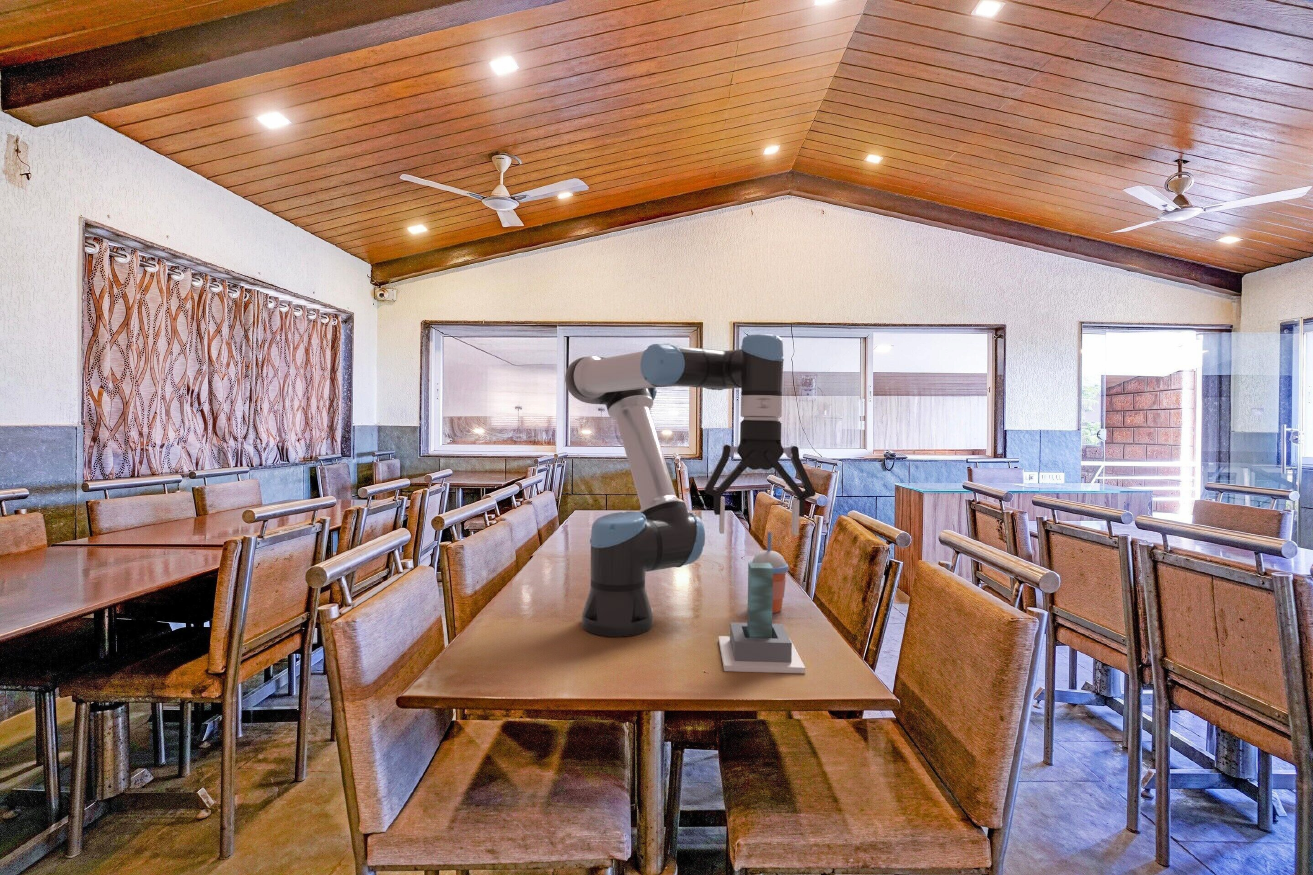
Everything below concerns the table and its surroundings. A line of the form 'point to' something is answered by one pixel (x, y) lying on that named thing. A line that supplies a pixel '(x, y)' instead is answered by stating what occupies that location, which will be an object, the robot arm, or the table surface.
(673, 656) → the table surface
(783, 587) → the cup with straw
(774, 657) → the socket block
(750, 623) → the peg
